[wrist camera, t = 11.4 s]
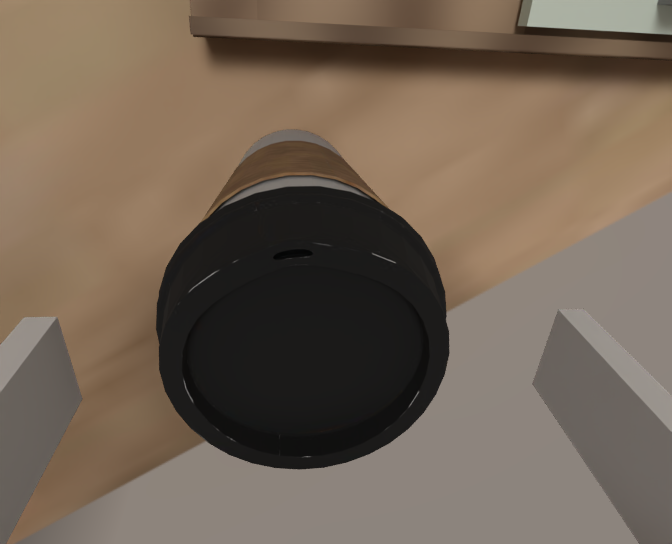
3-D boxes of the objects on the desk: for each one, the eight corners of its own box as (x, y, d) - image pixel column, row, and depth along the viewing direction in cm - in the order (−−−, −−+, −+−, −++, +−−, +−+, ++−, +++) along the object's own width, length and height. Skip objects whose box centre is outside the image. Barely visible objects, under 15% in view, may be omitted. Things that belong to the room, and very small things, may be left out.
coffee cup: (367, 93, 22) (491, 204, 9) (373, 246, 27) (464, 468, 14) (195, 111, 22) (76, 253, 9) (229, 263, 26) (181, 510, 13)
